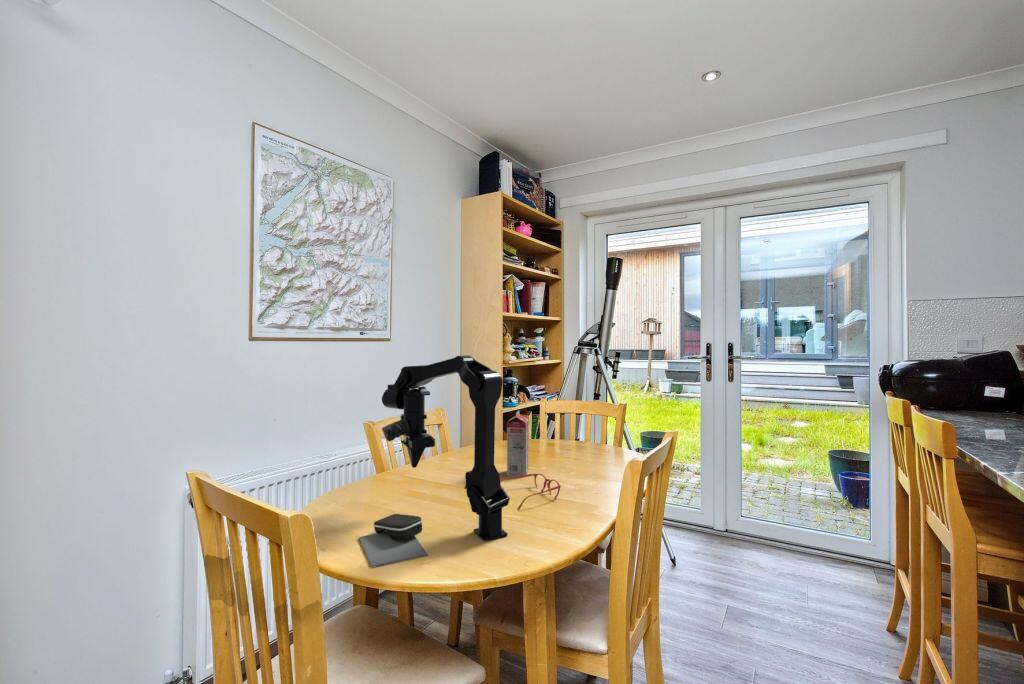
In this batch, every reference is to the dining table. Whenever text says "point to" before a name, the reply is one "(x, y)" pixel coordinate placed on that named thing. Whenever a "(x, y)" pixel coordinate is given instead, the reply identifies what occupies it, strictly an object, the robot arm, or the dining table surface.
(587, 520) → the dining table surface
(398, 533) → the battery charger
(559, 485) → the red eyeglasses
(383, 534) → the mat
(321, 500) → the dining table surface
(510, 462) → the juice carton
